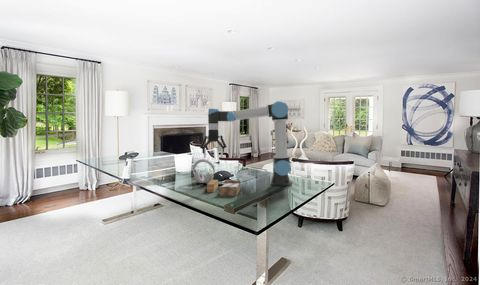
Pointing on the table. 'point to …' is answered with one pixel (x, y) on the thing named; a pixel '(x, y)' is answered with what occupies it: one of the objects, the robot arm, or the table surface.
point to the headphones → (199, 175)
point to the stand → (230, 188)
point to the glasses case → (212, 186)
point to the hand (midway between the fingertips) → (213, 157)
